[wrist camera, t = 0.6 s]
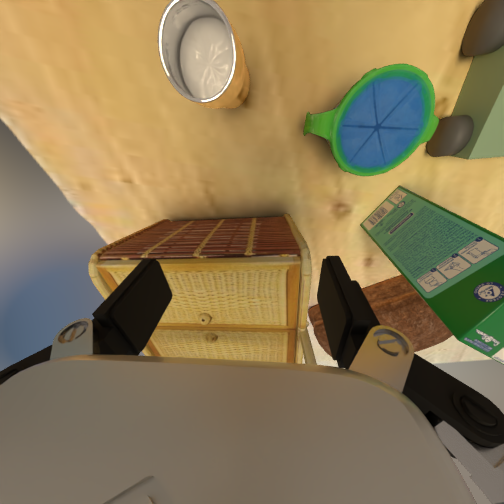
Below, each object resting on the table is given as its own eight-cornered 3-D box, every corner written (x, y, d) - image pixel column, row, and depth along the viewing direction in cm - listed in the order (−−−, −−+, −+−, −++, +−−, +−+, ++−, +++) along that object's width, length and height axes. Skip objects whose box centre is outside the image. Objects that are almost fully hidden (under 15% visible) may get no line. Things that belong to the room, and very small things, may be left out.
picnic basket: (299, 194, 37) (358, 348, 12) (294, 292, 51) (316, 456, 26) (154, 202, 40) (-35, 335, 15) (188, 292, 54) (117, 436, 29)
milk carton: (433, 210, 36) (650, 329, 15) (391, 245, 41) (515, 372, 20) (399, 185, 34) (593, 282, 14) (359, 224, 39) (459, 342, 18)
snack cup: (421, 91, 27) (488, 78, 19) (381, 170, 33) (419, 187, 25) (312, 70, 27) (330, 48, 19) (291, 154, 33) (298, 165, 25)
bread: (438, 308, 50) (477, 351, 40) (327, 338, 61) (337, 378, 51) (426, 262, 43) (470, 302, 33) (303, 305, 54) (309, 345, 44)
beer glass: (257, 55, 27) (244, -3, 14) (249, 116, 31) (233, 113, 18) (207, 44, 26) (149, -25, 14) (205, 107, 30) (159, 97, 18)
